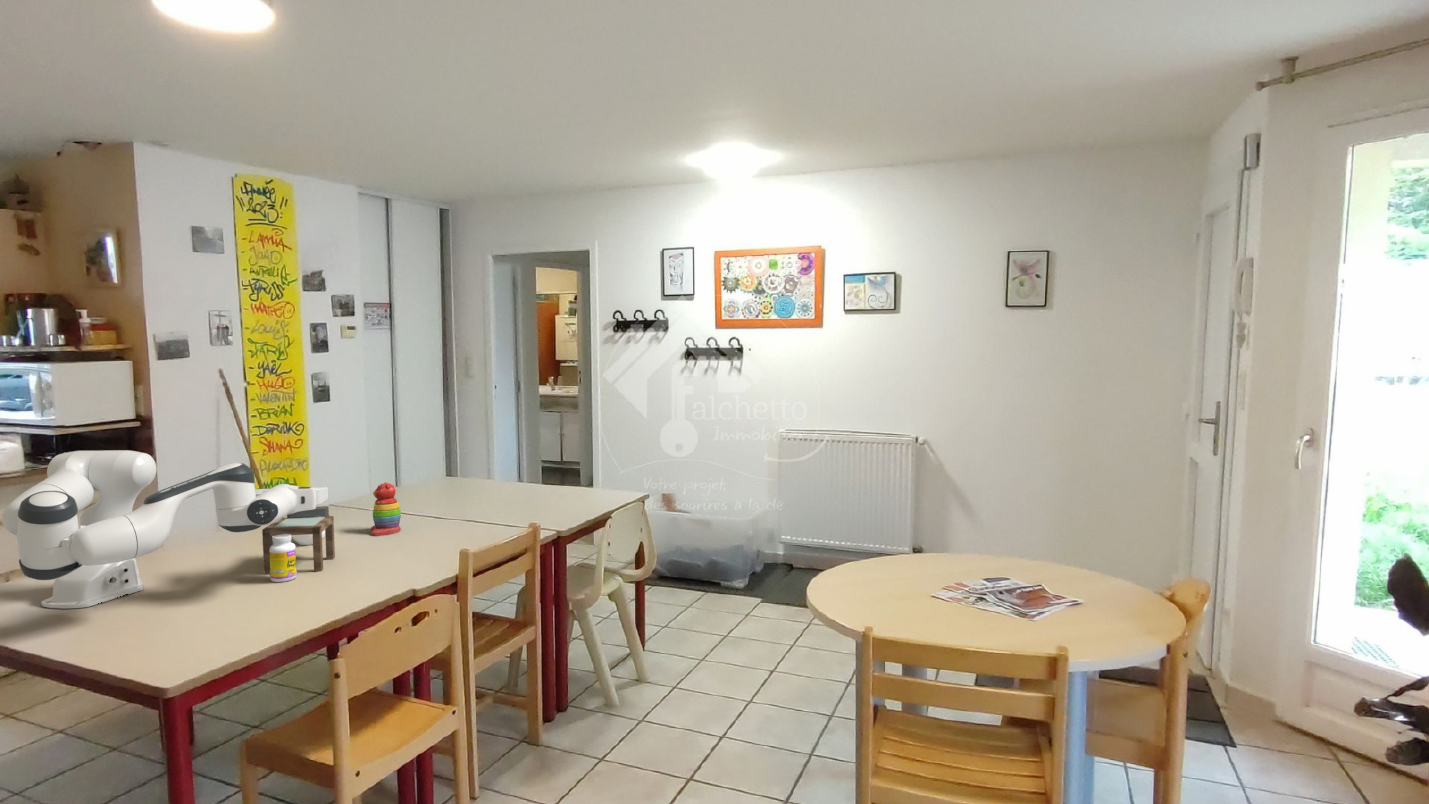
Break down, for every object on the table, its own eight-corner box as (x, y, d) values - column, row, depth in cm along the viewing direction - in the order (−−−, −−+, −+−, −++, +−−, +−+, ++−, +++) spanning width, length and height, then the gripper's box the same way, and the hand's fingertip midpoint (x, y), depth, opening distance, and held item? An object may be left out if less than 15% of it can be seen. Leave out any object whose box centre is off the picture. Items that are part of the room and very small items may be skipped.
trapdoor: (291, 526, 243) (291, 507, 242) (329, 524, 245) (328, 506, 245) (274, 538, 228) (273, 519, 227) (314, 536, 230) (313, 517, 230)
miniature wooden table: (281, 560, 240) (279, 518, 239) (335, 557, 243) (333, 515, 242) (264, 574, 226) (262, 529, 225) (321, 571, 229) (319, 527, 228)
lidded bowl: (338, 538, 266) (337, 507, 265) (315, 548, 254) (314, 515, 253) (304, 537, 268) (303, 506, 267) (280, 546, 255) (279, 514, 254)
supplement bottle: (289, 583, 218) (287, 539, 217) (265, 583, 218) (263, 539, 217) (301, 575, 225) (299, 533, 224) (279, 575, 225) (276, 532, 224)
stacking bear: (370, 529, 278) (369, 481, 277) (400, 526, 283) (399, 479, 281) (371, 536, 269) (369, 487, 267) (402, 533, 273) (400, 484, 271)
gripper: (242, 512, 217) (261, 501, 231) (320, 509, 221) (333, 499, 235) (241, 490, 217) (260, 481, 230) (319, 488, 221) (333, 479, 234)
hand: (298, 490), depth 233 cm, fingers open, 4 cm apart
